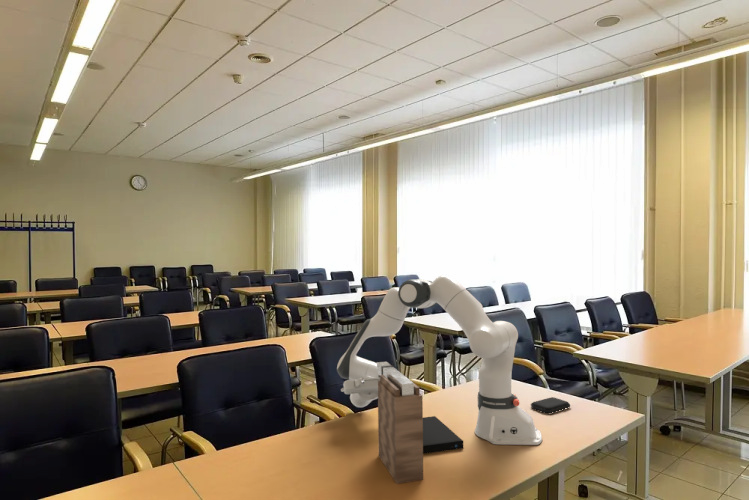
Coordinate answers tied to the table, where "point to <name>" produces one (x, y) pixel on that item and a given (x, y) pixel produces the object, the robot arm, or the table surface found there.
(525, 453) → the table surface
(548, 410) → the black microchip
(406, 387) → the bar
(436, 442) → the external hard drive
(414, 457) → the block
